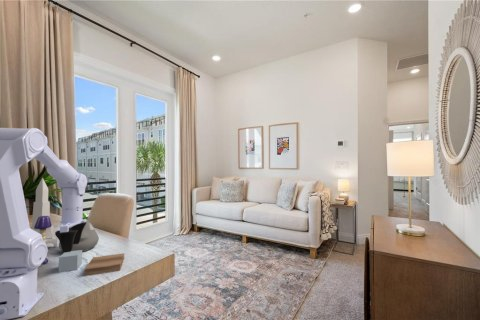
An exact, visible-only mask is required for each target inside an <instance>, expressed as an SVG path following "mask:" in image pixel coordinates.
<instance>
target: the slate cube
mask: <svg viewBox="0 0 480 320" xmlns="http://www.w3.org/2000/svg"><path fill="white" fill-rule="evenodd" d="M82 264H83V252H82V250H77V251H71V252H65V253H63V252H62V254H61V255H60V256H59V257H58V274H59V273H66V272H73V271H78V269H79V268H80V267H81V265H82Z"/></svg>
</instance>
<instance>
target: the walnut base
mask: <svg viewBox="0 0 480 320" xmlns="http://www.w3.org/2000/svg"><path fill="white" fill-rule="evenodd" d="M124 261H125V253H117V254H108V255H101V256H93V257H92V258H91V260H89V262H88V264H87V265H86V267H85V268H84V277H85V276H87V277H88V276H93V275H101V274H107V273H113V272H120V271H121V270H122V267H123V263H124Z"/></svg>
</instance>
